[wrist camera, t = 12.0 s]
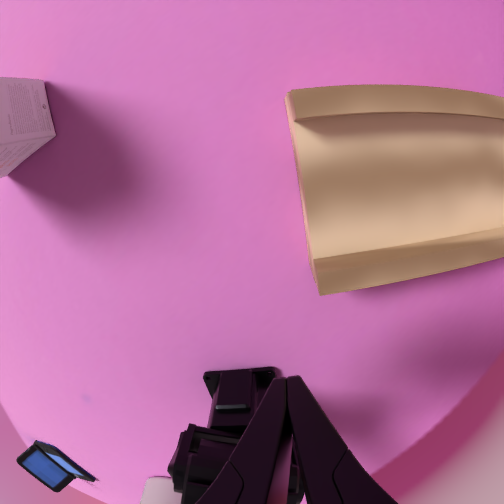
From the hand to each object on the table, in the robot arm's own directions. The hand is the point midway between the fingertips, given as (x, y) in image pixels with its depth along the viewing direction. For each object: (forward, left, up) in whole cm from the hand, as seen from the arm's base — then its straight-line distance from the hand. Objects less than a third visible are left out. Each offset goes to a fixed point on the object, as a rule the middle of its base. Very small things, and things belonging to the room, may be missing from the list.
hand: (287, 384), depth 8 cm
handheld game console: (-46, +58, -12) cm, 75 cm away
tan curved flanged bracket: (+4, -10, -12) cm, 16 cm away
